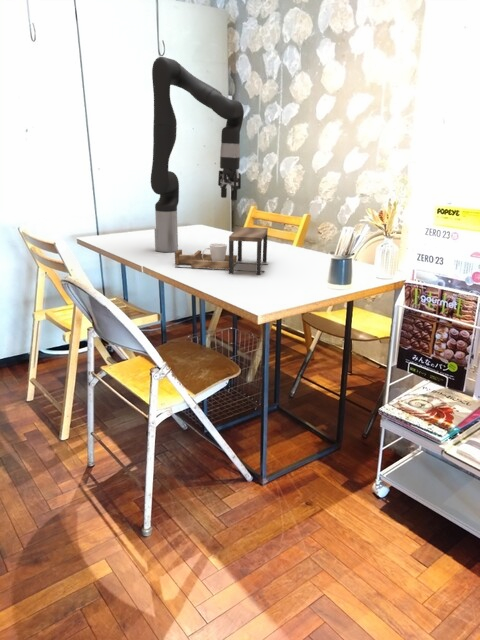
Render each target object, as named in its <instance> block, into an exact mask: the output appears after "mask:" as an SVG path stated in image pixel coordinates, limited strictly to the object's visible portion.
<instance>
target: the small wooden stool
mask: <svg viewBox="0 0 480 640" xmlns="http://www.w3.org/2000/svg"><path fill="white" fill-rule="evenodd" d="M268 232H269V231H268V227H249V226H248V227H247V226H243V227H242V226H238V227H237V228H236V229H235V230H234V231H232V233H231V234H230V235H229V236H228V242H229V243H228V255H229V270H228V274H230V273H232V274H234V271H233V270H234V266H233V255H234V246H235V243H234V242H237V262H242V261H243V259H242V258H243V257H242V256H243V254H242V253H243V248H242V247H243V242H248V243H249V242H250V243H251V242H254V243H255V242H256V263H257V264H256V269H255V271H256V272H255V275H257V276H261V273H262V272H261V271H262V265H261V264H262V263H263V264H267V259H268V258H267V256H268ZM262 241H263V243H262Z"/></svg>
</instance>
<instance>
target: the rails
mask: <svg viewBox="0 0 480 640" xmlns="http://www.w3.org/2000/svg"><path fill="white" fill-rule="evenodd" d="M235 264H242V265H257V262H253V263H252V262H238V261H237V262H236V263H235ZM263 265H264V266H267V265H269V264H268V263H261V266H263ZM174 268H175V269H176V268H177V269H178V268H179V269H193V268H194V269H197V270H212V269H214V270H215V271H229V269H217V268H198V267H189V266H175V267H174ZM194 269H193V270H194ZM214 270H213V271H214ZM235 271H236V272H250V273H251V272H252V273H254V272H255V273H256V270H250V269H249V270H247V269H233V272H235ZM261 273H265V270H261Z"/></svg>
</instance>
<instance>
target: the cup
mask: <svg viewBox="0 0 480 640" xmlns="http://www.w3.org/2000/svg"><path fill="white" fill-rule="evenodd" d="M227 248H228V244H226V243H223V242H221V243H219V242H218V243H217V242H216V243H215V242H214V243H210V244H209V247H205V248H204V249H202V251H201V254H202V259H203V254H205V251H207V250H209V251H210V252H209V253H210V254H211V258H212V261H220V262H224V260H225V256H226V255H227V250H228V249H227ZM203 261H205V260H204V259H203Z"/></svg>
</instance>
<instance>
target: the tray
mask: <svg viewBox="0 0 480 640" xmlns="http://www.w3.org/2000/svg"><path fill="white" fill-rule="evenodd" d="M203 259H204V260H205V261H203ZM203 259H202V250H201V249H200V250H197V251H196V252H195V253H194V254H183V249H178V250H177V251H174V264H175V265H179V264H188V265H191V267H194V268H213V269H229V254H226V256H225V260H224V262H220V261H212V258H211V253H203ZM236 262H237V263H238V254H237V255H234V254H233V267H234V266H235V264H237V263H236Z"/></svg>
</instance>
